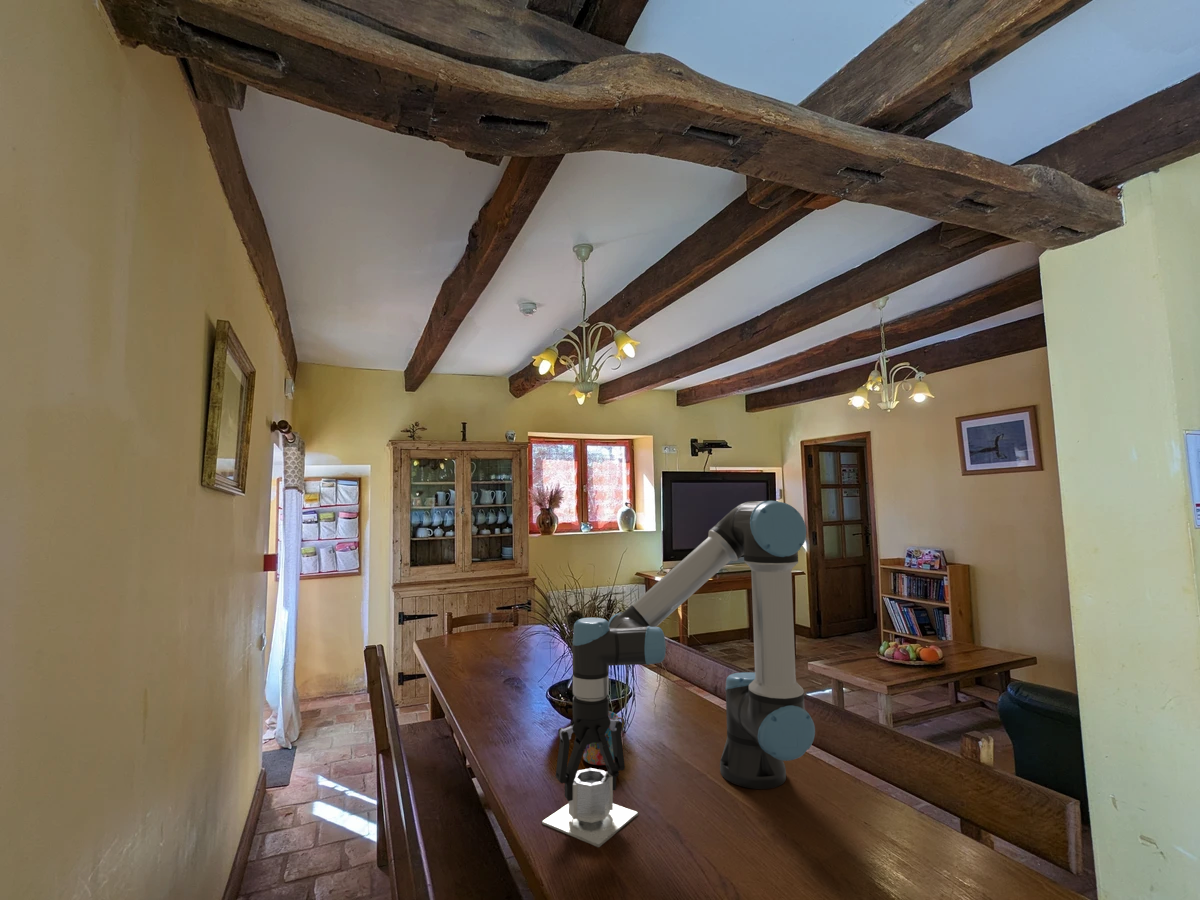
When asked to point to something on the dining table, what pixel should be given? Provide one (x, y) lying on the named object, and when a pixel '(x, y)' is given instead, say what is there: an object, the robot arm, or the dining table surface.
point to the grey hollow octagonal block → (592, 795)
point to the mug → (593, 750)
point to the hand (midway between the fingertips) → (590, 811)
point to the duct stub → (591, 824)
